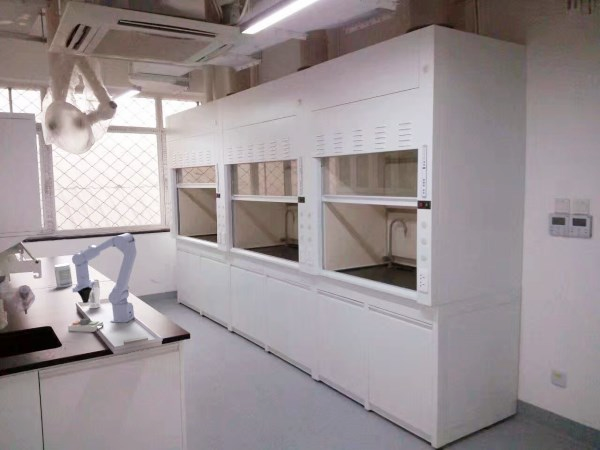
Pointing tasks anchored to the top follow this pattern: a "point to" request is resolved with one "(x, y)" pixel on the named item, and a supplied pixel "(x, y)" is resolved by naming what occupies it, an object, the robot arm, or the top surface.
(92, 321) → the sage key
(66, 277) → the supplement tub
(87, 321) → the grey key
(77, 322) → the terracotta key
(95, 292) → the beer glass
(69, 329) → the keypad
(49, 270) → the top surface
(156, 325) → the top surface
